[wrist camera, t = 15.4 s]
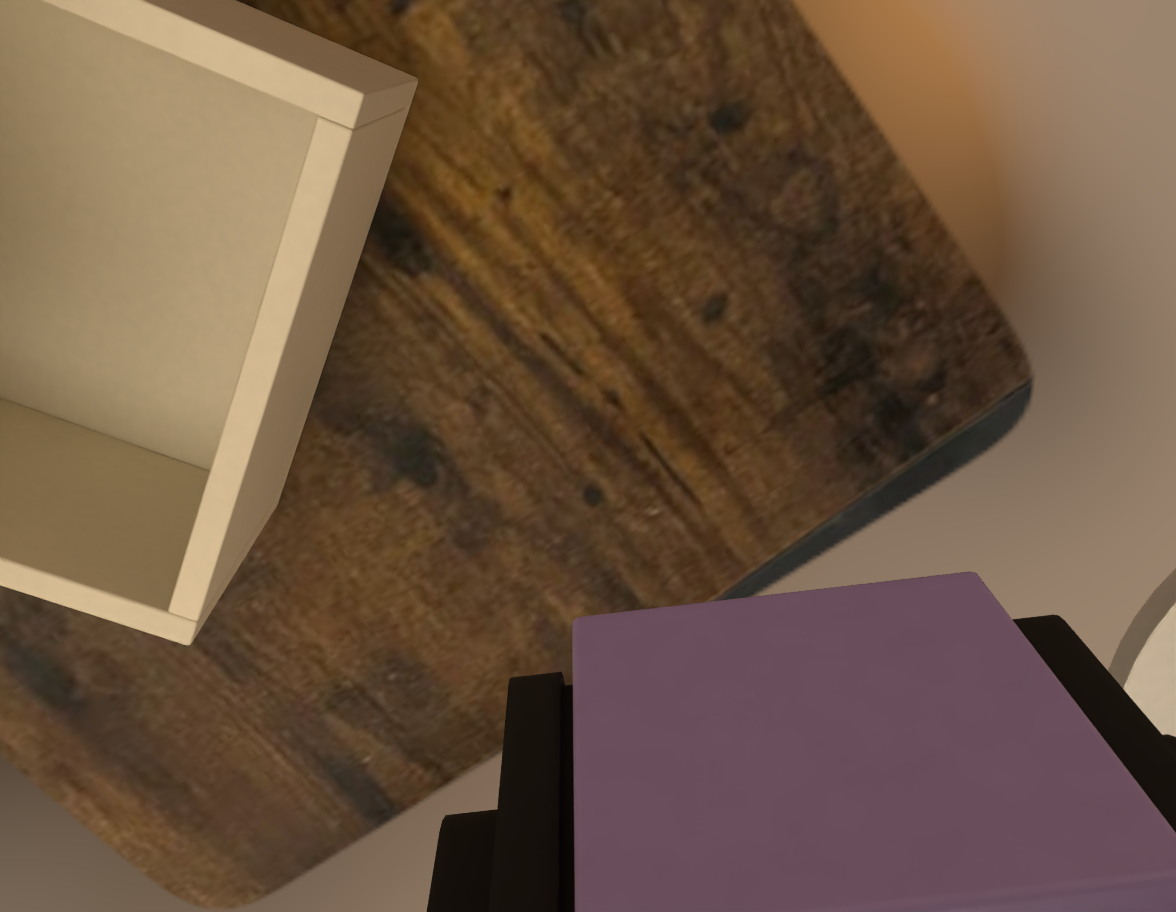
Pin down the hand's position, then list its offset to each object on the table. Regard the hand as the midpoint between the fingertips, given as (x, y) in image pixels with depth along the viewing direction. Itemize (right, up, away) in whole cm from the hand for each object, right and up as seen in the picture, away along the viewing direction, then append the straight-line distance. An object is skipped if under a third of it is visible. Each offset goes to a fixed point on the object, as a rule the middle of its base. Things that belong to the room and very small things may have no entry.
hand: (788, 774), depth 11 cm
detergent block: (0, 0, 0) cm, 0 cm away
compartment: (-16, +10, +21) cm, 28 cm away
